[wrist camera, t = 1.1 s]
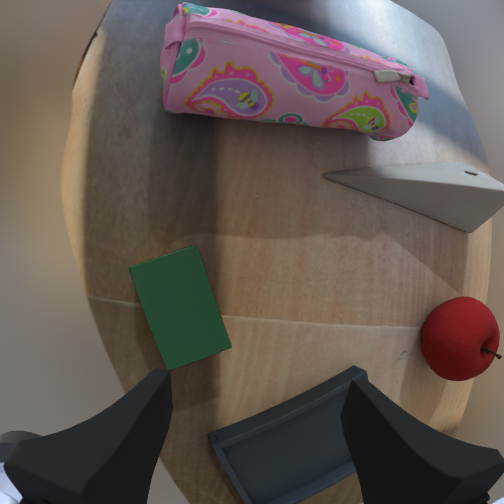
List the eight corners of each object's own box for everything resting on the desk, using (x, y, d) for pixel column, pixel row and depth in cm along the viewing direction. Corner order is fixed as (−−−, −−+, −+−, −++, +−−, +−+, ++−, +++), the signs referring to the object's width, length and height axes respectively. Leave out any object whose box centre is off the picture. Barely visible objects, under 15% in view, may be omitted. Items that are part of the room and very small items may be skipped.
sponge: (165, 353, 22) (167, 371, 18) (133, 266, 22) (128, 267, 18) (220, 334, 23) (232, 347, 20) (190, 246, 23) (197, 244, 19)
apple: (462, 312, 32) (526, 320, 23) (436, 378, 31) (498, 399, 21) (426, 280, 30) (501, 285, 21) (395, 358, 29) (469, 383, 19)
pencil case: (367, 83, 29) (421, 44, 20) (379, 158, 29) (445, 131, 20) (164, 46, 22) (175, -26, 14) (153, 133, 22) (155, 70, 14)
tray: (250, 509, 24) (256, 521, 22) (207, 433, 23) (211, 445, 21) (370, 447, 28) (380, 455, 26) (354, 365, 27) (366, 370, 25)
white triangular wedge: (337, 281, 26) (497, 252, 29) (348, 192, 22) (516, 190, 24) (303, 227, 35) (450, 214, 37) (306, 156, 30) (462, 160, 33)
